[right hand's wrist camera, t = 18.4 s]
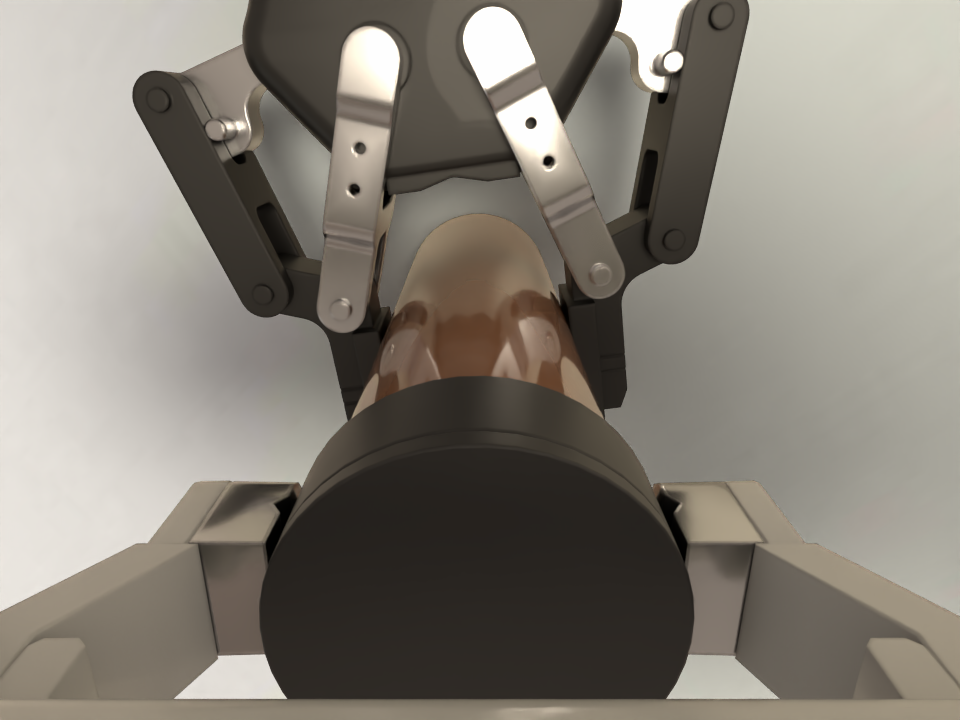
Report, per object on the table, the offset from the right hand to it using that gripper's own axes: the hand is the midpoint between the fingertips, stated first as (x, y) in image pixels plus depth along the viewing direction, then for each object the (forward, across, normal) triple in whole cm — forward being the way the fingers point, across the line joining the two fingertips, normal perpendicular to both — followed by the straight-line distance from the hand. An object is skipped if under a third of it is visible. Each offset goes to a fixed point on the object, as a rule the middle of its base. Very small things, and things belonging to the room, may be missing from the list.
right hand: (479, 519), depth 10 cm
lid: (-2, 0, 0) cm, 2 cm away
